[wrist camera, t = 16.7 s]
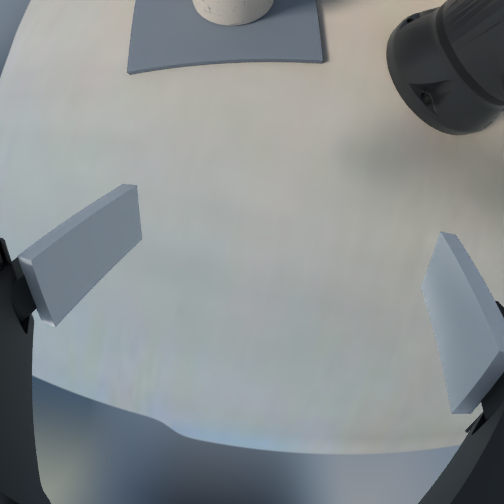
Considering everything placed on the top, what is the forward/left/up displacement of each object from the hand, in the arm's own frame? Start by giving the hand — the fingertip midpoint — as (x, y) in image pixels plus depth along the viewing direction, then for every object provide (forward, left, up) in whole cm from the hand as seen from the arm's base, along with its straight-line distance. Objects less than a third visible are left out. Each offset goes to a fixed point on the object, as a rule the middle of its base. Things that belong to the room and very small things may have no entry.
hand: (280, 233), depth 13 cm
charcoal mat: (+4, -24, -18) cm, 31 cm away
